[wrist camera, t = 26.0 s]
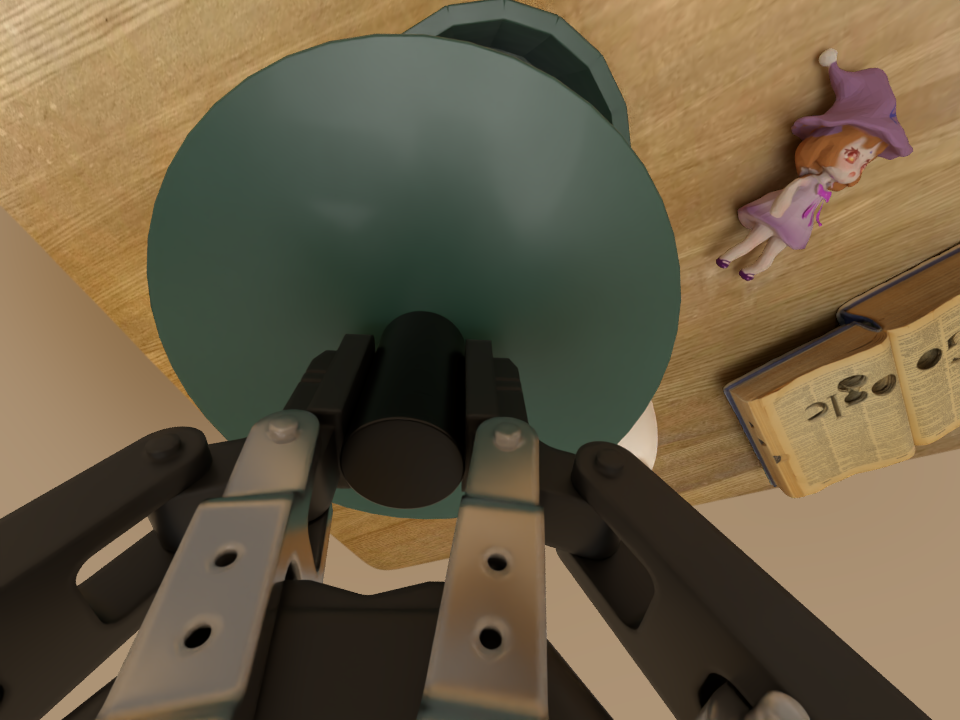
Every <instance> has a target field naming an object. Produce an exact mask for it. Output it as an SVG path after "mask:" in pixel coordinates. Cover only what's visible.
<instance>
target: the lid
mask: <svg viewBox="0 0 960 720" xmlns="http://www.w3.org/2000/svg"><path fill="white" fill-rule="evenodd" d="M147 279H148V287H149V295H150V303H151V308H152V312H153V316H154V319H155V323H156V327H157V330H158V334H159V338H160V340H161V342H162V345H163V347H164V349H165V352H166V354H167V356H168V359H169V361H170V363H171V366H172V368H173V369H174V371H175V373H176V375H177V376H178V378H179V380H180V381H181V383H182V385H183V386H184V388H185V390H186V392H187V393H188V395H189V396H190V397H191V399H192V400H193V401H194V403H195V404H196V405H197V407H198V408H199V409H200V411H201V412H202V413H203V414H204V416H205V417H206V418H207V419H208V420H209V421H210V422H211V424H212V425H213V426H214V427H215V428H216V429H217V430H218V431H219V432H220V433H221V434H222V435H223V436H224V437H225V438H226V439H227V440H228V441H231V440H236V439H241V438H245V437H247V436H248V434H249V432H250V430H251V428H252V427H253V425H254V424H255V423H256V422H258V421H259V420H260V419H262V418H263V417H265V416H267V415H269V414H272V413H274V412H278V411H282V410H283V409H284V407H285V405H286V404H287V402H288V400H289V398H290V397H291V395H292V393H293V392H294V390H295V388H296V387H297V385H298V383H299V382H301V378H302V376H303V375H304V373H306V370H307V368H308V366H309V365H310V363H311V361H312V359H314V358H315V357H317V356H318V355H320V354H321V353H322V352H324V351H325V350H336V351H337V350H338V348H339V346H340V344H341V342H342V340H343V338H344V336H345V334H365V335H373V336H374V339H375V350H376V353H375V356H374V359H373V362H372V364H371V367H370V370H369V373H368V376H367V378H366V381H365V384H364V387H363V390H362V392H361V395H360V398H359V401H358V404H357V406H356V409H355V412H354V415H353V418H352V420H351V423H350V426H349V429H348V432H347V434H346V437H345V440H344V443H343V446H342V449H341V452H340V467H341V471H342V474H343V476H344V478H345V480H346V481H347V483H348V484H349V485H350V487H351V488H350V489H339V488H336V491H335V494H334V497H333V500H332V503H335V504H338V505H341V506H344V507H347V508H351V509H355V510H359V511H363V512H368V513H372V514H378V515H385V516H391V517H398V518H413V519H450V518H457V517H458V511H459V506H460V502H461V498H462V495H465V492H461V481H462V479H463V476H464V472H465V447H464V399H465V345H466V339H472V340H491V343H492V352H493V357H495V358H509V359H510V360H511V361H512V362H513V363H514V364H515V365H516V366H517V368H518V371H519V376H520V382H521V386H522V391H523V396H524V402H525V407H526V412H527V417H528V422H529V425H530V426H532V427H533V428H534V429H535V431H536V432H537V434H538V437H539V440H540V441H542V442H543V443H545V444H546V445H548V446H551V447H553V448H556V449H559V450H563V451H566V452H570V453H574V454H576V452H577V450H578V449H579V448H580V447H581V446H582V445H584V444H586V443H589V442H593V441H604V442H610V443H614V444H618V443H619V442H620V441H621V440H622V439H623V438H624V437H625V436H626V434H627V433H628V432H629V431H630V430H631V429H632V427H633V426H634V425H635V423H636V422H637V421H638V419H639V418H640V417H641V415H642V414H643V413H644V411H645V410H646V408H647V406H648V405H649V403H650V401H651V399H652V398H653V396H654V394H655V392H656V391H657V389H658V387H659V385H660V383H661V380H662V378H663V375H664V373H665V370H666V368H667V366H668V363H669V361H670V357H671V354H672V350H673V346H674V342H675V338H676V335H677V330H678V321H679V313H680V304H681V286H680V265H679V259H678V254H677V248H676V243H675V237H674V233H673V230H672V227H671V224H670V221H669V218H668V215H667V212H666V209H665V206H664V203H663V200H662V198H661V196H660V194H659V192H658V191H657V189H656V187H655V185H654V183H653V181H652V179H651V177H650V175H649V173H648V171H647V169H646V168H645V166H644V164H643V163H642V162H641V160H640V159H639V158H638V156H637V155H636V153H635V152H634V151H633V149H632V148H631V147H630V145H629V144H628V143H627V141H626V140H625V139H624V137H623V136H622V134H621V133H620V132H619V131H618V130H617V129H616V128H615V127H614V126H613V125H612V124H611V123H610V122H609V121H608V120H607V119H606V118H605V117H604V116H603V115H602V114H601V113H600V112H599V111H598V110H597V109H596V108H595V107H594V106H593V105H592V104H591V103H589V102H588V101H587V100H585V99H584V98H582V97H581V96H580V95H578V94H577V93H576V92H574V91H573V90H571V89H570V88H569V87H567V86H566V85H565V84H563V83H562V82H561V81H559V80H558V79H556V78H555V77H553V76H551V75H549V74H547V73H545V72H543V71H541V70H539V69H538V68H536V67H534V66H532V65H530V64H528V63H526V62H524V61H522V60H520V59H518V58H516V57H514V56H511V55H508V54H505V53H502V52H499V51H496V50H493V49H490V48H487V47H484V46H481V45H478V44H475V43H472V42H468V41H462V40H456V39H450V38H444V37H438V36H432V35H426V34H371V35H365V36H359V37H353V38H347V39H340V40H334V41H329V42H326V43H323V44H320V45H317V46H314V47H311V48H308V49H305V50H302V51H299V52H296V53H293V54H291V55H288V56H285V57H283V58H282V59H280V60H278V61H276V62H274V63H272V64H271V65H269V66H267V67H265V68H263V69H261V70H260V71H258V72H256V73H254V74H252V75H251V76H249V77H247V78H246V79H245V80H243V81H242V82H241V83H240V84H238V85H237V86H236V87H235V88H233V89H232V90H231V91H230V92H228V93H227V94H226V95H225V96H223V97H222V98H221V99H220V100H218V101H217V102H216V103H215V104H214V105H213V106H212V107H211V108H210V109H209V111H208V112H207V113H206V114H205V115H204V116H203V118H202V119H201V120H200V121H199V122H198V123H197V124H196V126H195V127H194V128H193V129H192V130H191V131H190V132H189V134H188V135H187V137H186V138H185V140H184V142H183V143H182V145H181V147H180V148H179V150H178V152H177V153H176V155H175V157H174V158H173V160H172V162H171V164H170V165H169V167H168V169H167V172H166V174H165V177H164V180H163V182H162V185H161V188H160V190H159V193H158V195H157V198H156V201H155V204H154V209H153V214H152V219H151V224H150V229H149V234H148V247H147Z"/></svg>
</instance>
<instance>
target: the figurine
mask: <svg viewBox="0 0 960 720" xmlns="http://www.w3.org/2000/svg"><path fill="white" fill-rule="evenodd" d="M836 60H837V51H836V50H834V49H833V48H832V49H828V50H826V51H824V52H823V53H822V54H821V55H820V57H819V63H820V64H821V65H822V66H827V67H828V68H829V77H830V82H831V86H832V88H833V90H834V92H835V95H836V100H835V102H834V104H833V106H832V107H831V108H830V109H829V110H828V111H827V112H826V113H825V114H824V115H818V116H805V117H802V118H799V119H797V120H796V121H795V123H794V125H793V126H792V127H791V128H792V134H794V135H796V136H798V137H799V138H800V139H802V140H803V141H802V142H801V143H800V144H799V146H798V148H797V150H796V152H795V165H796V170H797V174H798V176H799V178H797V179H795V180H794V181H792V182H791V183H790V184H788V185H787V186H786V187H785V188H784V189H782V190H778V191H774V192H770V193H768V194H766V195H764V196H763V197H761V198H760V199H757V200H755V201H753V202H751V203H749V204H747V205H745V206H743V207H741V208H739V209H738V211H737V212H738V218H739V221H740V222H741V224H742V225H743V226H745V227H747V228H748V229H752V230H751V231H750V233H749V234H748V235H747V237H746V238H745V239H744V240H743V241H742V242H740V243H739V244H737V245H735V246H734V247H732V248H730V249H729V250H727V251H726V252H725V253H724V254H723V255H722V256H720V257H719V258H718V259H717V260H716V264H717V265H718V266H719V267H721V268H727V267H728V265H729V263H730V262H731V261H733V260H734V259H736V258H738V257H741V256H743V255H745V254H747V253H748V252H750V251H751V250H752V249H753V248H754V247H756V246H757V245H759V244H760V243H762V242H764V241H765V240H767V239H768V238H769V240H768V242H767V244H766V246H765V248H764V250H763V252H762V254H761V255H760V256H759V258H758V259H757V260H756V261H755V262H754V263H753V264H751V265H750V266H748V267H746V268H744V269H741V270H740V271H739V275H740V276H741V277H742V278H743V279H744V280H747V281H750V280H752V279H753V278H754V275H755V274H757V273H760V272H762V271H765V270H766V269H767V268H768V267H770V266H771V264H772V262H773V260H774V258H775V256H776V255H777V254H779V253H780V252H781V251H782V250H783V249H784V248H785V247H786V246H789V247H790V248H792V249H804V248H805V247H806V244H807V242H808V240H809V238H810V235H811V231H812V228H813V219H814V211H815V209H816V208H817V206H818V205H819V203H820V202H821V201H822V199H825V201H826V203H827V202H828V201H829V199H830V197H831V193H832V192H831V191H828V190H832V191H840V190H842V189H844V188H845V187H846V186H848V187H852V186H854V185H855V184H857V183H858V181H859V180H860V178H861V174H862V171H863V170H864V169H865V167H866V166H867V164H868V163H870V162H871V161H872V160H874V159H875V158H876V157H877V156H879V157H883V158H886V159H888V160H892V159H894V158H897V157H899V156H900V157H905V156H908V155H910V154H911V153H912V152H913V148H912V147H911V146H910V144H909V142H908V139H907V137H906V135H905V132H904V129H903V128H902V127H901V125H900V124H899V122H898V120H897V117H896V98H895V96H894V94H893V92H892V89H891V87H890V85H889V81H888V78H887V75H886V74H885V72H884V71H883V70H881V69H879V68H869V69H865V70H861V71H857V72H848V71H844V70H841V69H840V68H839V67H838V66H837V62H836ZM822 205H823V203H822ZM821 208H822V206H821ZM821 208H820V210H819V212H818V213H817V216H816V221H817V223H818V224H819V226H821V225H822V224H821V223H820V222H819V215H820V211H821Z"/></svg>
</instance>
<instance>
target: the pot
mask: <svg viewBox="0 0 960 720" xmlns="http://www.w3.org/2000/svg"><path fill="white" fill-rule="evenodd" d="M402 34H426V35H432V36H438V37H444V38H450V39H456V40H462V41H468V42H472V43H475V44H478V45H481V46H484V47H487V48H490V49H493V50H496V51H499V52H502V53H505V54H508V55H511V56H514V57H516V58H518V59H520V60H522V61H524V62H526V63H528V64H530V65H532V66H534V67H536V68H538V69H539V70H541V71H543V72H545V73H547V74H549V75H551V76H553V77H555V78H556V79H558V80H559V81H561V82H562V83H563V84H565V85H566V86H567V87H569V88H570V89H571V90H573V91H574V92H576V93H577V94H578V95H580V96H581V97H582V98H584V99H585V100H587V101H588V102H589V103H591V104H592V105H593V106H594V107H595V108H596V109H597V110H598V111H599V112H600V113H601V114H602V115H603V116H604V117H605V118H606V119H607V120H608V121H609V122H610V123H611V124H612V125H613V126H614V127H615V128H616V129H617V130H618V131H619V132H620V133H621V134H622V136H623V137H624V139H625V140H626V141H627V143H628V144H629V145H630V147H631V144H630V134H629V124H628V114H627V106H626V103H625V101H624V99H623V97H622V95H621V93H620V90H619V88H618V86H617V84H616V82H615V80H614V78H613V76H612V74H611V72H610V69H609V67H608V65H607V63H606V61H605V59H604V57H603V55H601V53H600V52H599V51H598V50H597V49H596V48H595V47H594V46H592V45H591V44H590V43H589V42H588V41H587V40H586V39H585V38H584V37H583V36H582V35H580V34H579V33H578V32H577V31H576V30H575V29H574V28H573V27H572V26H571V25H569V24H568V23H567V22H566V21H565V20H564V19H563V18H562V17H560V16H558V15H557V14H554V13H551V12H548V11H544V10H541V9H538V8H535V7H532V6H529V5H526V4H523V3H520V2H517V1H514V0H481V1H474V2H466V3H459V4H451V5H448V6H444V7H443V8H441V9H440V10H438V11H437V12H435V13H433V14H432V15H430V16H429V17H427V18H425V19H424V20H422V21H421V22H419V23H418V24H416V25H414V26H413V27H411V28H410V29H408V30H407V31H405V32H403V33H402Z"/></svg>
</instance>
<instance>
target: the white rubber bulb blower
mask: <svg viewBox="0 0 960 720" xmlns="http://www.w3.org/2000/svg"><path fill="white" fill-rule="evenodd" d="M657 441H658V434H657V422H656V417H655V412H654V408H653V404H652V401H650V403H649V405H648V406H647V408H646V410H645V411H644V413H643V414H642V415H641V417H640V418H639V419H638V421H637V422H636V423H635V425H634V426H633V427H632V429H631V430H630V431H629V432H628V433H627V434H626V436H625V437H624V438H623V439H622V440H621V441H620V442H619V443H618V444H617V445H619V446H622V447H624V448H625V449H627V450H629V451H630V452H631V453H633V454H634V455H635V456H636V457H637V458H638V459H640V460H641V461H642V462H643V463H644V464H645V465H646V466H647V467H648V468H650V469H651V470H652V468H653V465H654V462H655V458H656V454H657Z"/></svg>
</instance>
